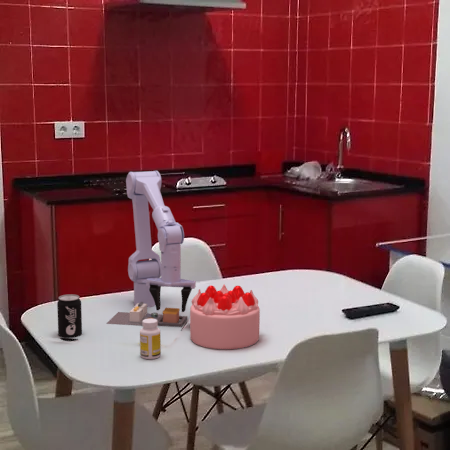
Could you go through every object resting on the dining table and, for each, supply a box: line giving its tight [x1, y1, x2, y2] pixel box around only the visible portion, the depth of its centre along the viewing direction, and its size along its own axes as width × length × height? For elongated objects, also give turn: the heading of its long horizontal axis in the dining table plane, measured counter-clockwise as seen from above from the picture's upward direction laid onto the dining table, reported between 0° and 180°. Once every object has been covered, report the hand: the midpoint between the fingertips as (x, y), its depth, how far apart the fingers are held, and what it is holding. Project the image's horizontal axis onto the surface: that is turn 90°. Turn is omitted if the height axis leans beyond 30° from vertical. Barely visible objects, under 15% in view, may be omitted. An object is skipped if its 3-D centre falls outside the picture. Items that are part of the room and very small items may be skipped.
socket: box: [157, 314, 188, 332], centre depth 226 cm, size 8×8×2 cm
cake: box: [189, 284, 261, 350], centre depth 215 cm, size 20×20×14 cm
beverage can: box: [56, 293, 83, 342], centre depth 214 cm, size 7×7×12 cm
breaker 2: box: [129, 306, 143, 322], centre depth 228 cm, size 4×3×4 cm
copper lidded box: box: [162, 307, 181, 323], centre depth 226 cm, size 4×4×5 cm
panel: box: [106, 311, 163, 327], centre depth 229 cm, size 12×14×2 cm
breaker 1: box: [133, 302, 148, 317], centre depth 233 cm, size 4×3×4 cm
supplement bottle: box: [139, 319, 162, 360], centre depth 200 cm, size 5×5×10 cm
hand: (170, 310), depth 226 cm, fingers open, 7 cm apart
